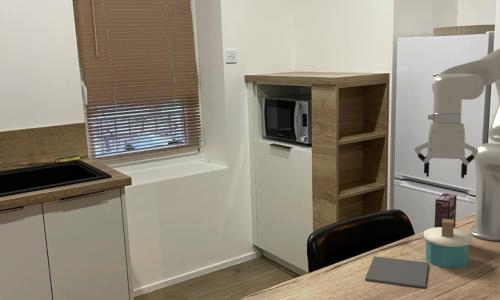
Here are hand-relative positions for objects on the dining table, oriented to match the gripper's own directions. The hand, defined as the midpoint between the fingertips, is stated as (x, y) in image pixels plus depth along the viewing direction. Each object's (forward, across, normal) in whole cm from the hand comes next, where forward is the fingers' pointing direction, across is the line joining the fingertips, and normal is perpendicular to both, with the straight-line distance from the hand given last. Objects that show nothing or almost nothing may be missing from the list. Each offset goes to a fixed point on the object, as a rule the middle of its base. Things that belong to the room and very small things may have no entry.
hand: (444, 176), depth 144 cm
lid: (+19, +1, +1) cm, 19 cm away
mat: (+27, -12, -12) cm, 31 cm away
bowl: (+26, +1, +1) cm, 26 cm away
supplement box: (+26, +1, +15) cm, 30 cm away
